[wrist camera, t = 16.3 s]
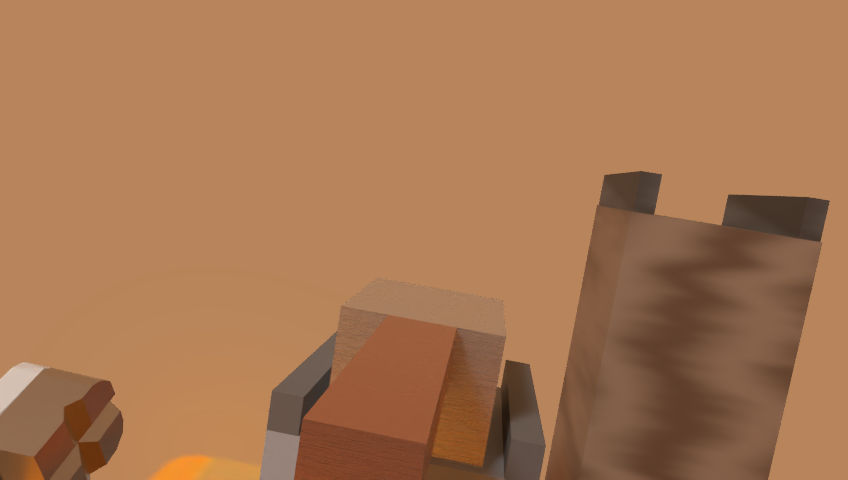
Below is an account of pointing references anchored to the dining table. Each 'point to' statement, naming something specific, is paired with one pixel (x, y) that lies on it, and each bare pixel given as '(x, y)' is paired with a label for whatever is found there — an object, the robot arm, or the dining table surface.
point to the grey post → (500, 476)
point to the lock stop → (405, 385)
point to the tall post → (684, 337)
